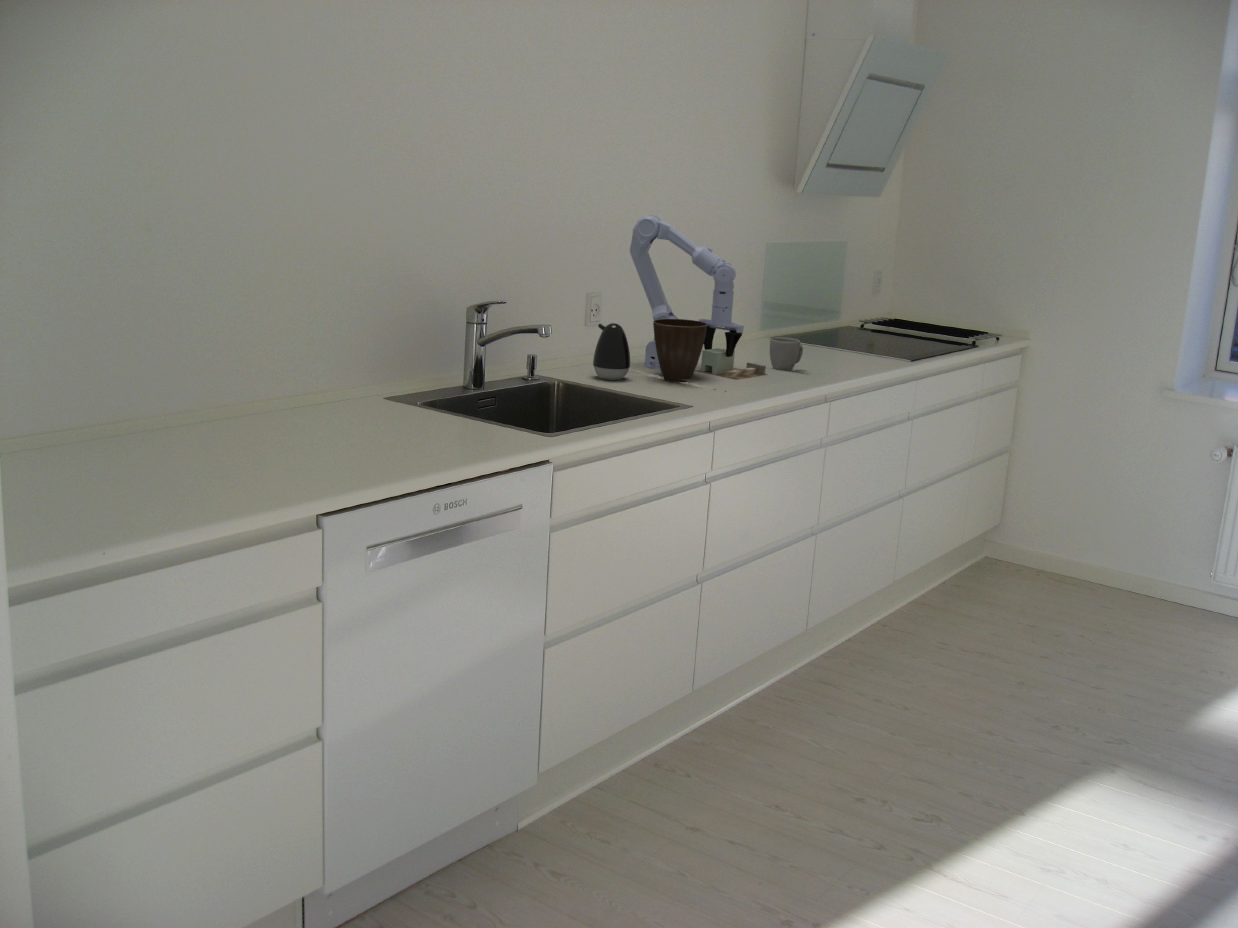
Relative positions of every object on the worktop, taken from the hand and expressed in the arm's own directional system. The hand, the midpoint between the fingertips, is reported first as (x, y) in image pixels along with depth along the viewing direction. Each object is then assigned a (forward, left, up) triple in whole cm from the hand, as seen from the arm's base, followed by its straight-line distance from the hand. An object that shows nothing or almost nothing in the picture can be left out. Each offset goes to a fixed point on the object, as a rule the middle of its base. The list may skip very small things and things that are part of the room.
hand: (718, 354), depth 321 cm
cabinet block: (0, 0, -5) cm, 5 cm away
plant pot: (-17, +1, -6) cm, 18 cm away
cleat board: (+2, -3, -6) cm, 7 cm away
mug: (+24, -7, -6) cm, 26 cm away
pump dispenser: (-32, +12, -6) cm, 35 cm away
